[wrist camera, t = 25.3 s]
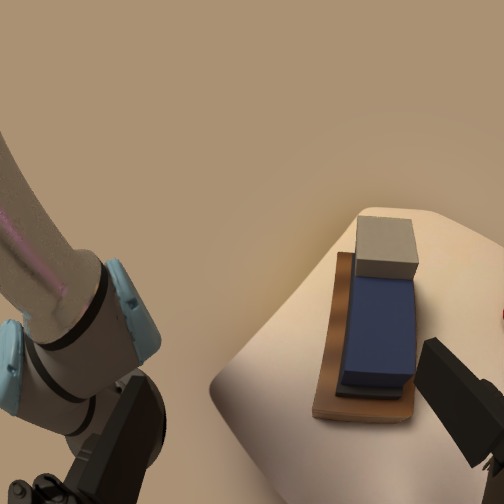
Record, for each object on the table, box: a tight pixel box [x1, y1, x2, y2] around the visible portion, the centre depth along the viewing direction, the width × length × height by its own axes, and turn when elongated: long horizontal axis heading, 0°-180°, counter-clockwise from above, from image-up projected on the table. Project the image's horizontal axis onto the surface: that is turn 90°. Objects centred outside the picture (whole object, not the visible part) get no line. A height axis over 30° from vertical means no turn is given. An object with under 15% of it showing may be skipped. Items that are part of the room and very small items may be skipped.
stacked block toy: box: [335, 216, 419, 400], centre depth 28 cm, size 20×8×10 cm, turn 164°
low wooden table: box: [312, 252, 417, 423], centre depth 34 cm, size 24×12×6 cm, turn 164°
